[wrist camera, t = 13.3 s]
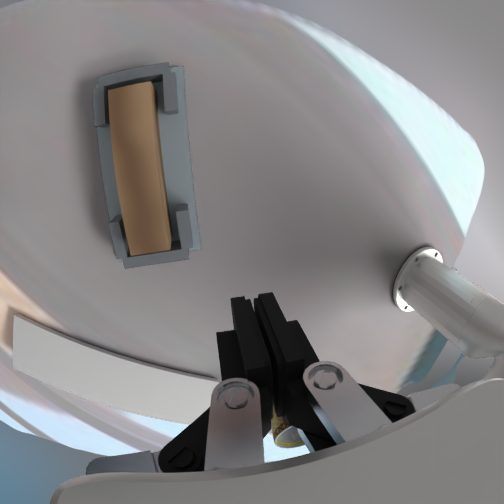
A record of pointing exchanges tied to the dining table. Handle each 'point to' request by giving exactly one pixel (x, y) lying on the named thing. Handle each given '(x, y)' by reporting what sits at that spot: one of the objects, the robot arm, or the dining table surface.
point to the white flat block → (108, 375)
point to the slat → (140, 167)
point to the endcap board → (173, 156)
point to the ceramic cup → (285, 433)
